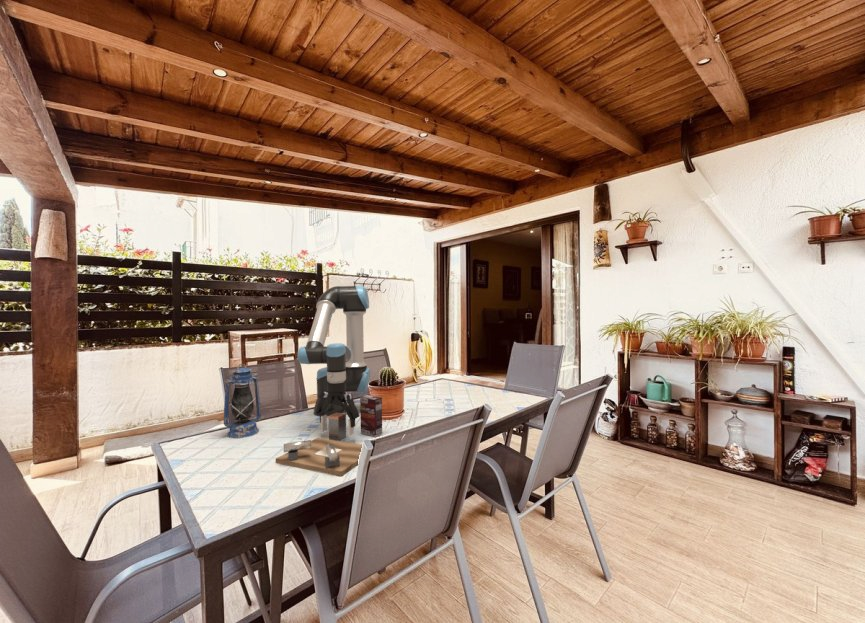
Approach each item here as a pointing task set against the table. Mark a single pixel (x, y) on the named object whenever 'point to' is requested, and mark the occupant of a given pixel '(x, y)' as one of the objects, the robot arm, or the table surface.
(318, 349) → the robot arm
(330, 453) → the shaft
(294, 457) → the shaft
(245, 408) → the lantern
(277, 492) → the table surface
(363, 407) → the supplement box
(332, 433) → the block
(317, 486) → the table surface
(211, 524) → the table surface
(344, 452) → the cradle board
